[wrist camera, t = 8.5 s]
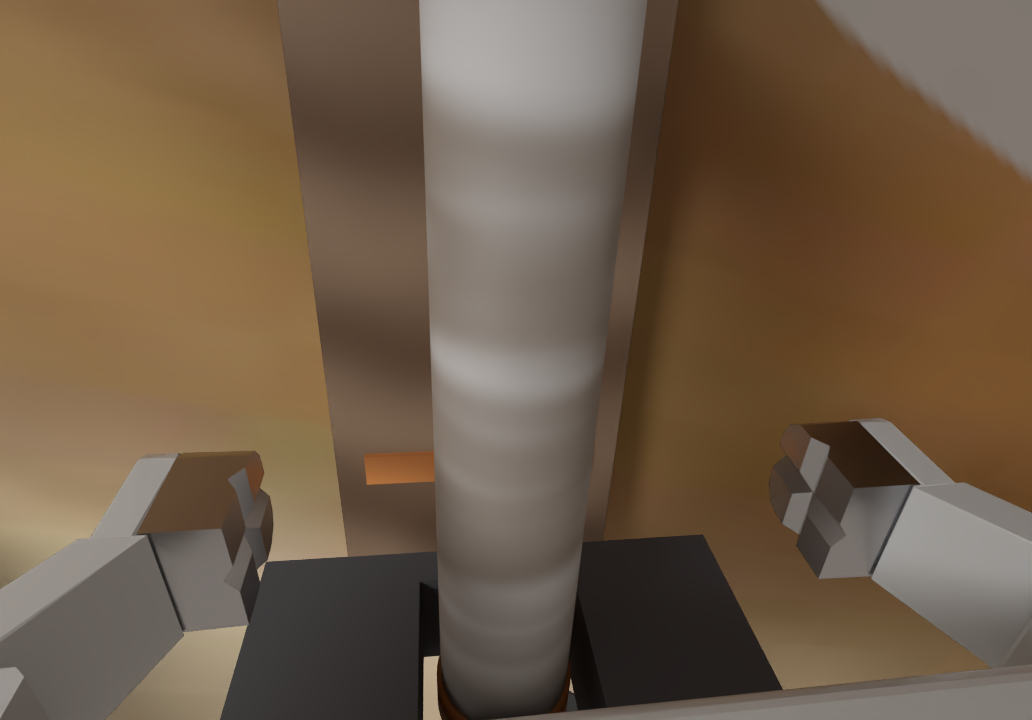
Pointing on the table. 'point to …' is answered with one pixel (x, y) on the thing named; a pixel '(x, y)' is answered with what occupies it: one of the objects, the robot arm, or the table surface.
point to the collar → (416, 633)
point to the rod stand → (479, 296)
